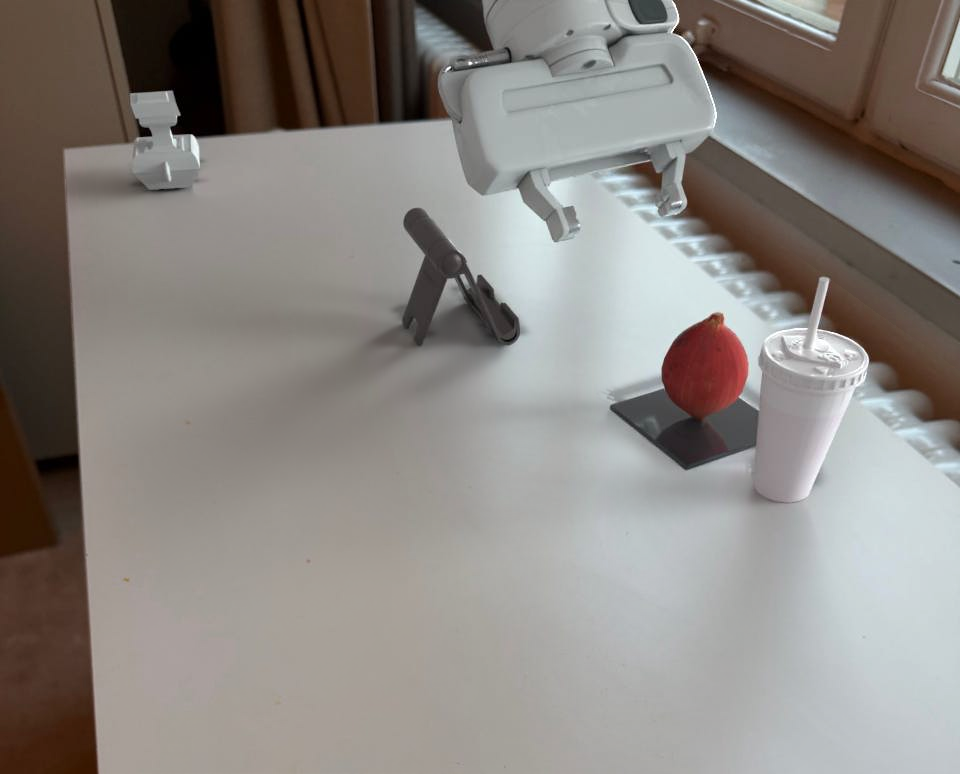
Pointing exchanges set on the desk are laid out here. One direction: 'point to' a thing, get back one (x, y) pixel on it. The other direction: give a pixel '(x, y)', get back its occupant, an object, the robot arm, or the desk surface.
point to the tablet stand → (434, 273)
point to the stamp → (162, 144)
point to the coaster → (690, 428)
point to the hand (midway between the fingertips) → (622, 224)
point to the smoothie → (802, 403)
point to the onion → (705, 368)
